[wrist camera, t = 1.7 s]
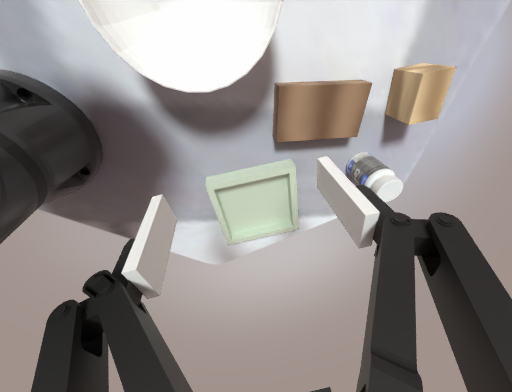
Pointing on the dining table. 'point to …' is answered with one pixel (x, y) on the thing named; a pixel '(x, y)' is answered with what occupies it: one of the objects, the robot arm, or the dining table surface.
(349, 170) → the pill bottle
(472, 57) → the dining table surface
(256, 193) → the tray
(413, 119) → the wooden block
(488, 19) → the dining table surface
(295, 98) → the brown cardboard box
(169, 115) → the dining table surface
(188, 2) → the bowl
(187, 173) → the dining table surface
